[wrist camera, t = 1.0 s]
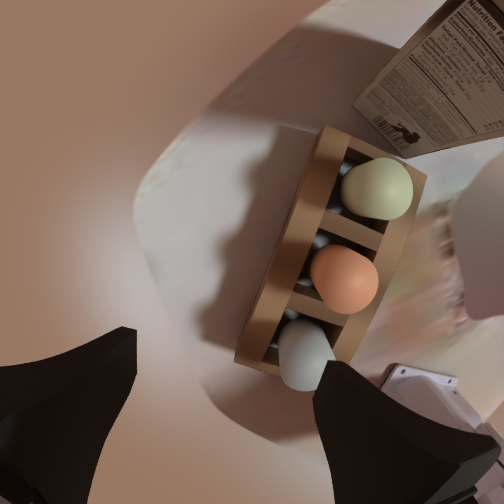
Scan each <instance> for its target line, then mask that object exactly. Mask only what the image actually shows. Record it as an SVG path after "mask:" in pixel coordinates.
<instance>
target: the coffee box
mask: <svg viewBox="0 0 504 504" xmlns="http://www.w3.org/2000/svg"><path fill="white" fill-rule="evenodd" d="M352 106H353V107H354V108H355V109H356V110H358V111H359V112H360V113H361V114H362V115H363V116H364V117H365V118H366V119H367V120H368V121H369V122H370V123H371V124H372V125H373V126H374V127H375V128H376V129H377V130H378V131H379V132H380V133H381V134H382V135H383V136H384V137H385V138H386V139H387V140H388V141H389V142H390V143H391V144H392V145H393V146H394V148H395V149H396V150H397V151H398V152H399V153H400V154H401V155H402V156H403V157H404V158H405V159H409V158H413V157H416V156H420V155H424V154H428V153H432V152H436V151H440V150H444V149H448V148H452V147H457V146H461V145H466V144H470V143H475V142H479V141H484V140H489V139H493V138H499V137H503V136H504V0H447V1H446V2H445V3H444V4H443V5H442V6H441V7H440V8H439V9H438V10H437V11H436V12H435V13H434V14H433V15H432V16H431V17H430V18H429V19H428V20H427V21H426V22H425V23H424V24H423V25H422V26H421V27H420V28H419V29H418V31H417V32H416V33H415V34H414V35H413V36H412V37H411V38H410V39H409V40H408V41H407V42H406V44H405V45H404V46H403V47H402V48H401V49H400V50H399V51H398V52H397V53H396V55H395V56H394V57H393V58H392V59H391V60H390V61H389V62H388V63H387V64H386V66H385V67H384V68H383V69H382V70H381V71H380V72H379V74H378V75H377V76H376V77H375V78H374V79H373V80H372V82H371V83H370V84H369V85H368V86H367V87H366V88H365V89H364V91H363V92H362V93H361V94H360V95H359V96H358V97H357V99H356V100H355V101H354V102H353V103H352Z"/></svg>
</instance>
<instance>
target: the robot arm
mask: <svg viewBox="0 0 504 504" xmlns="http://www.w3.org/2000/svg"><path fill="white" fill-rule="evenodd" d="M403 369H404V370H403ZM402 370H403V371H402ZM401 371H402V372H401ZM136 375H137V330H135V329H131V328H127V327H123V326H122V327H119V328H117V329H115V330H113V331H111V332H109V333H106V334H104V335H103V336H101V337H99V338H96V339H94V340H92V341H90V342H88V343H86V344H84V345H82V346H79V347H77V348H74V349H72V350H70V351H68V352H65V353H62V354H59V355H56V356H53V357H50V358H47V359H43V360H39V361H35V362H30V363H24V364H19V365H12V366H3V367H0V504H87V501H88V496H89V492H90V488H91V484H92V480H93V477H94V473H95V470H96V466H97V463H98V460H99V457H100V454H101V451H102V448H103V445H104V442H105V440H106V438H107V436H108V434H109V432H110V430H111V428H112V426H113V424H114V422H115V420H116V418H117V417H118V415H119V413H120V411H121V409H122V407H123V405H124V403H125V401H126V400H127V398H128V396H129V393H130V391H131V388H132V386H133V383H134V380H135V377H136ZM458 381H459V379H458V378H457V377H454V376H449V375H445V374H440V373H435V372H431V371H426V370H422V369H418V368H414V367H410V366H405V365H401V364H398V365H396V366H395V367H394V369H393V370H392V372H391V374H390V375H389V377H388V378H387V380H386V382H385V383H384V385H383V386H382V388H381V389H378V388H377V387H376V386H374V385H373V384H372V383H371V382H369V381H368V380H367V379H365V378H364V377H363V376H362V375H360V374H359V373H358V372H357V371H355V370H354V369H353V368H352V367H350V366H349V365H347V364H346V363H345V362H343V361H337V360H327V363H326V366H325V368H324V371H323V374H322V376H321V379H320V381H319V384H318V386H317V389H316V391H315V394H314V396H313V399H312V400H313V408H314V415H315V421H316V424H317V428H318V431H319V434H320V438H321V441H322V444H323V447H324V451H325V454H326V457H327V460H328V464H329V468H330V471H331V478H332V484H333V490H334V498H335V504H504V437H503V436H502V435H501V434H500V433H499V432H498V431H497V430H496V429H495V428H494V426H493V425H492V424H491V423H489V422H488V423H484V424H483V422H482V419H481V417H480V415H479V414H478V413H477V412H476V410H475V409H474V408H473V407H472V406H471V405H470V404H469V403H468V401H467V400H466V399H465V398H464V397H463V396H462V395H461V394H460V393H459V392H458V390H457V389H456V388H455V386H456V385H457V383H458Z"/></svg>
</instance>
